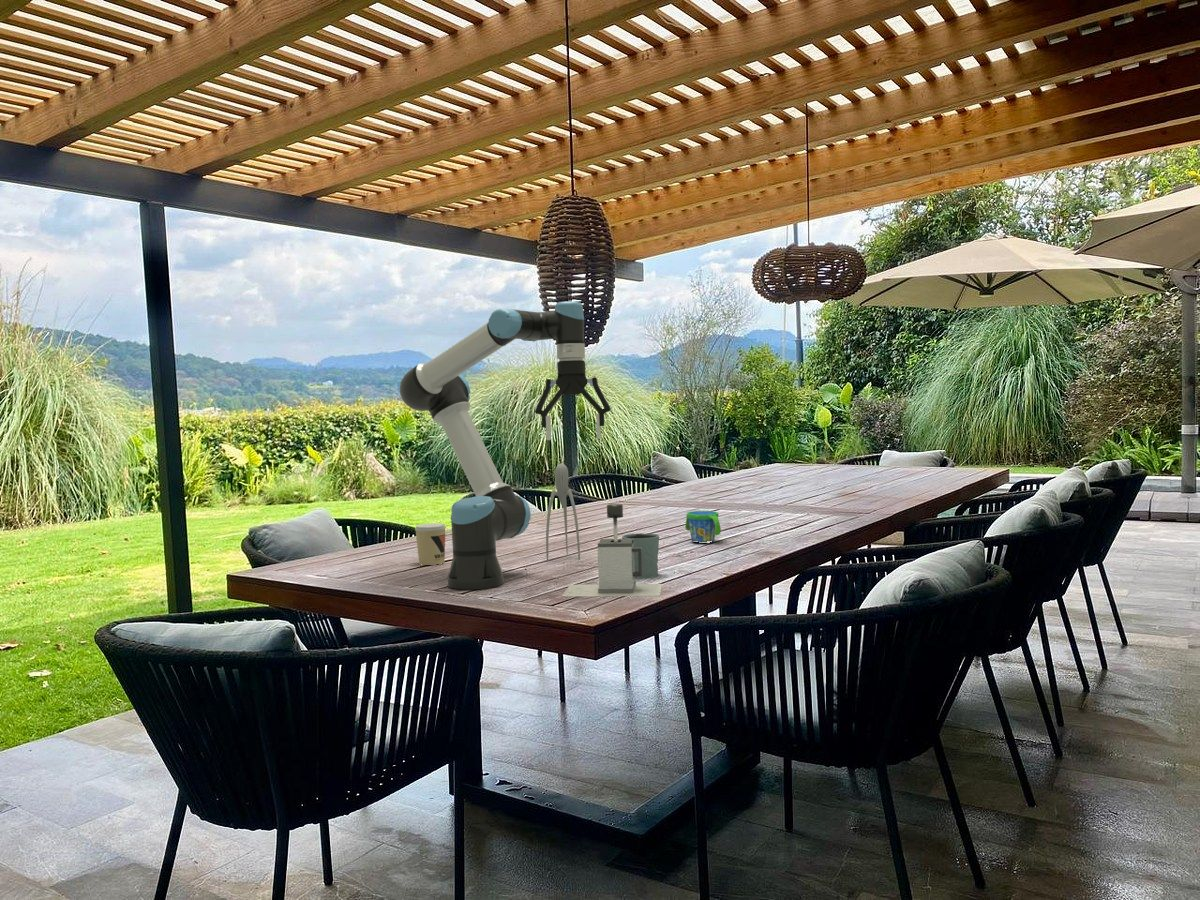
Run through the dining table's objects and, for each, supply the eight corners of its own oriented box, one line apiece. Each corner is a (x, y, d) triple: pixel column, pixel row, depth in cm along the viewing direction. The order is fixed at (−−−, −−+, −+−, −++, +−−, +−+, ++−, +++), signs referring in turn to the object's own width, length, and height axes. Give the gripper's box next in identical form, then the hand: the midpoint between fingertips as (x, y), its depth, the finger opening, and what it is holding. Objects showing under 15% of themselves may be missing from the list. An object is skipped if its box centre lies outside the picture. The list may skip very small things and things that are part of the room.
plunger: (603, 579, 229) (601, 506, 228) (606, 575, 235) (604, 503, 234) (627, 579, 228) (625, 506, 227) (629, 574, 234) (627, 503, 233)
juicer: (583, 555, 290) (580, 461, 289) (580, 560, 281) (576, 463, 280) (551, 556, 291) (547, 462, 290) (546, 561, 282) (543, 464, 281)
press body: (598, 593, 227) (596, 544, 227) (601, 586, 236) (600, 538, 236) (641, 592, 226) (640, 543, 226) (643, 585, 235) (642, 538, 234)
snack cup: (729, 543, 304) (729, 513, 304) (703, 547, 299) (702, 516, 299) (702, 538, 318) (702, 509, 317) (677, 541, 313) (676, 511, 312)
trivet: (562, 601, 225) (562, 596, 225) (570, 589, 239) (569, 584, 239) (659, 600, 223) (659, 595, 223) (662, 588, 237) (661, 583, 237)
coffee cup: (437, 566, 279) (436, 527, 278) (410, 565, 282) (409, 527, 281) (452, 561, 288) (451, 523, 287) (426, 560, 291) (424, 522, 290)
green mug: (629, 584, 244) (628, 539, 243) (618, 577, 253) (617, 534, 253) (665, 580, 246) (664, 536, 246) (653, 574, 256) (651, 531, 255)
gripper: (522, 361, 243) (525, 441, 244) (616, 357, 240) (618, 438, 241) (527, 362, 250) (530, 439, 252) (618, 359, 248) (621, 437, 249)
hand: (573, 439), depth 246 cm, fingers open, 13 cm apart
